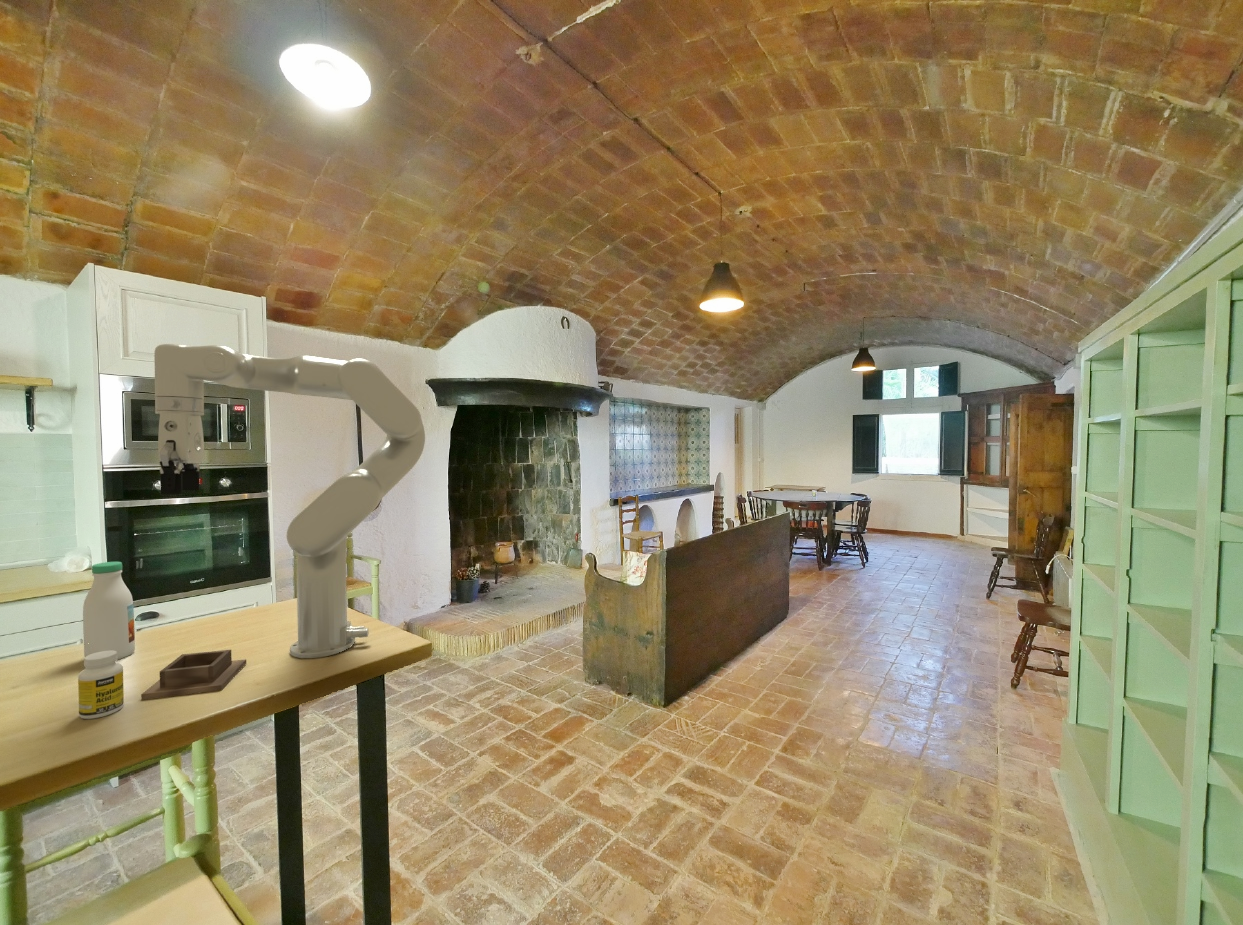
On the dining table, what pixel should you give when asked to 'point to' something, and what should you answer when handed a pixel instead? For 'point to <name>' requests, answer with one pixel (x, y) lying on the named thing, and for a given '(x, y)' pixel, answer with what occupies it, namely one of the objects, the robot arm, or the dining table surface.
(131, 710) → the dining table surface
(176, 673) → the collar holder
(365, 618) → the dining table surface
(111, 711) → the supplement bottle
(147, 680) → the dining table surface
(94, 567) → the milk bottle
